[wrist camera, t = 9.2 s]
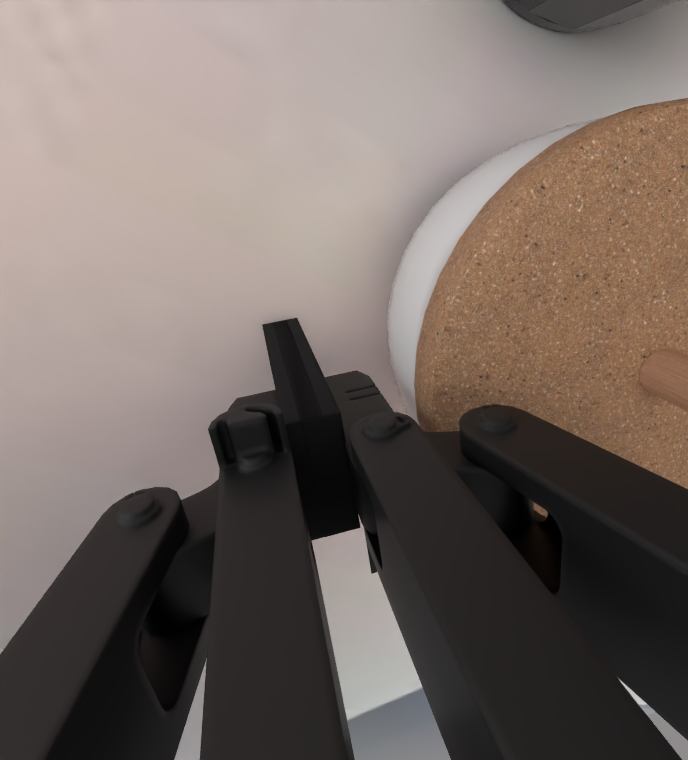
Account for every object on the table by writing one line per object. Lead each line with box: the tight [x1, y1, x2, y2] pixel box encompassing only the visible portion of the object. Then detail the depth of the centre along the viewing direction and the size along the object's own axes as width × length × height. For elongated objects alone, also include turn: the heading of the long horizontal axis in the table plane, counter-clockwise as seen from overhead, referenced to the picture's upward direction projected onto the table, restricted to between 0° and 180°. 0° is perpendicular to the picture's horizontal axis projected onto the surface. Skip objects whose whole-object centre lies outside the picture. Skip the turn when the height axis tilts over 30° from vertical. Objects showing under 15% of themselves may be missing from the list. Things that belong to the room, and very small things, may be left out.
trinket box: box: [387, 98, 688, 517], centre depth 14 cm, size 11×11×9 cm
